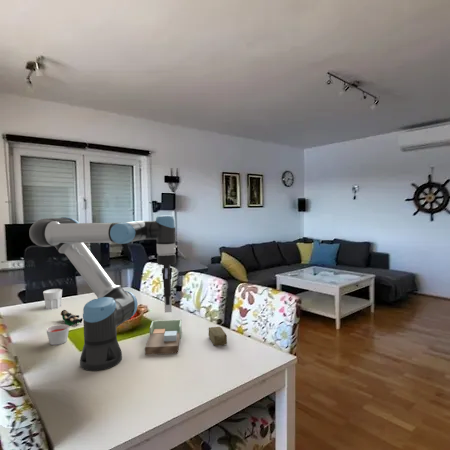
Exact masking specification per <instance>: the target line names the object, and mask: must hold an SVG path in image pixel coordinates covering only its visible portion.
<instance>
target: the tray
mask: <svg viewBox="0 0 450 450" xmlns="http://www.w3.org/2000/svg"><path fill="white" fill-rule="evenodd" d="M182 323H183V322H182V319H167V320H166V319H164V320H163V319H162V320H152V321H151V324H150V327H149V335H150V334H153V331H154V329H165V331H177V333H180V340H181V338H182V332H183V331H182V330H183V329H182V328H183V327H182V326H183V325H182Z"/></svg>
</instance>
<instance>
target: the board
mask: <svg viewBox="0 0 450 450" xmlns="http://www.w3.org/2000/svg"><path fill="white" fill-rule="evenodd" d="M164 334H165V333H160V334H150V333H149V336H148V339H147V342H146V345H145V346H144V351H145V352H144V355H164V354H165V355H166V354H167V355H168V354H178V353H179V350H180V344H181V343H180V342H181V339H180V333H177V340H176V341H164Z"/></svg>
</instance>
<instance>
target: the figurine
mask: <svg viewBox="0 0 450 450" xmlns="http://www.w3.org/2000/svg"><path fill="white" fill-rule="evenodd" d="M60 316H61V318H62V320H63V321H64V323H65V325H69V327H70V326H75V325H78V324H79V323H80V324H81V323H82V321H83V317H81V318H80V315H76V314H73V313H71V312H69V311H67V309H63V310H61V311H60ZM82 324H83V323H82Z"/></svg>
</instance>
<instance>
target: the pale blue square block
mask: <svg viewBox="0 0 450 450" xmlns="http://www.w3.org/2000/svg"><path fill="white" fill-rule="evenodd" d="M176 340H177V331H165V334H164V341H176Z"/></svg>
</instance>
